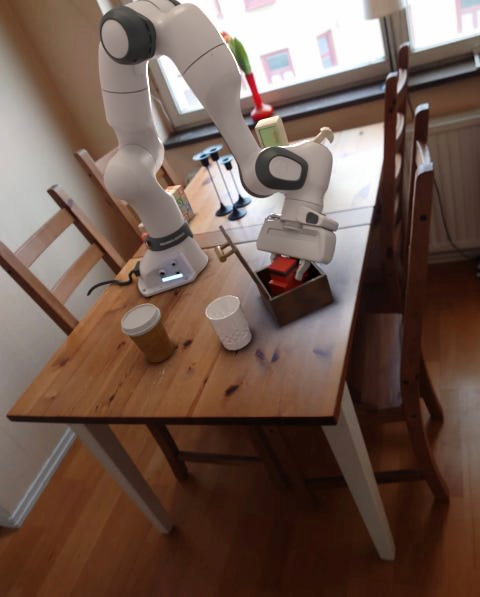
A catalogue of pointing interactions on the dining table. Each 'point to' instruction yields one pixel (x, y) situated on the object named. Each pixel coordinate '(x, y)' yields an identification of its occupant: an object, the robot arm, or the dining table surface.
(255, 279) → the chest lid
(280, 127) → the toy refrigerator
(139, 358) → the dining table surface
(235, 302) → the white cup
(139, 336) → the disposable coffee cup
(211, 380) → the dining table surface
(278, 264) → the red stepped block
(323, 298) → the toy chest
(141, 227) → the printed cardboard box
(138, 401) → the dining table surface
